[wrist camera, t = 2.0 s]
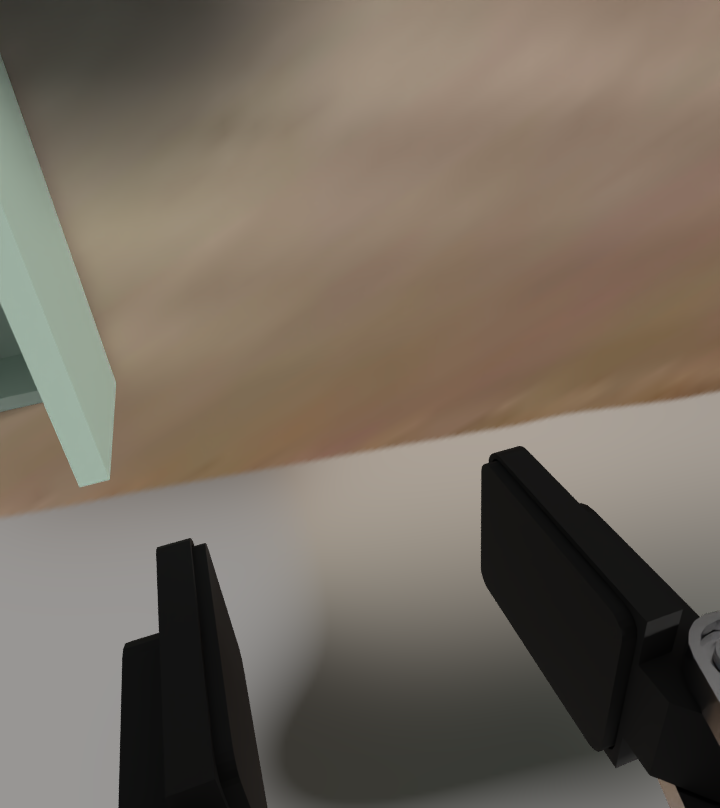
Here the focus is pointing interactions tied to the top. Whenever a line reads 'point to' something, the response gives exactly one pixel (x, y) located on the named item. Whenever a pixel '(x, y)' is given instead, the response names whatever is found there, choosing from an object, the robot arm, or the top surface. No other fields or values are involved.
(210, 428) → the top surface
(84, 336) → the tray
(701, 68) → the top surface
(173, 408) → the top surface
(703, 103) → the top surface
